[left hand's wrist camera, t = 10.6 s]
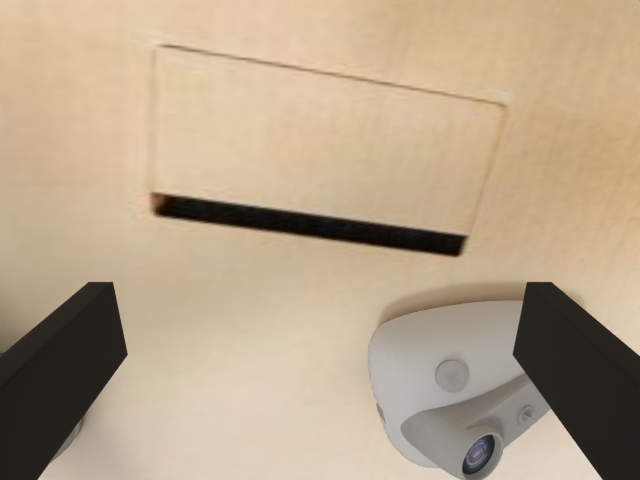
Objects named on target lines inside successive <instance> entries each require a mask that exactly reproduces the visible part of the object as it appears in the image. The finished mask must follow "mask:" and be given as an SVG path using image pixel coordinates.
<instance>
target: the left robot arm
mask: <svg viewBox="0 0 640 480" xmlns="http://www.w3.org/2000/svg"><path fill="white" fill-rule="evenodd" d="M127 355H128V354H127V349H126V344H125V339H124V334H123V329H122V324H121V320H120V315H119V310H118V305H117V300H116V295H115V290H114V285H113V282H88V283H87V284H86V285H85V286H84V287H82V288H81V289H80V290H79V291H78V292H76V293H75V294H74V295H73V296H72V297H70V298H69V299H68V300H67V301H66V302H64V303H63V304H62V305H61V306H60V307H58V308H57V309H56V310H55V311H54V312H52V313H51V314H50V315H49V316H48V317H46V318H45V319H44V320H43V321H42V322H41V323H39V324H38V325H37V326H36V327H35V328H33V329H32V330H31V331H30V332H29V333H27V334H26V335H25V336H24V337H23V338H21V339H20V340H19V341H18V342H17V343H15V344H14V345H13V346H12V347H11V348H9V349H8V350H7V351H6V352H5V353H3V354H0V480H37V479H38V478H39V477H40V475H41V474H42V473H43V471H44V470H45V468H46V467H47V466H48V464H49V463H50V462H52V461H53V460H54V459H56V458H57V457H58V456H59V455H60V454H61V453H62V452H63V451H65V450H66V449H67V447H68V446H69V445H70V444H71V442H72V441H73V439H74V438H75V436H76V435H77V434H78V432H79V430H80V427H81V424H82V417H83V416H84V414H85V413H86V412H87V410H88V409H89V408H90V406H91V405H92V403H93V402H94V401H95V399H96V398H97V396H98V395H99V394H100V392H101V391H102V390H103V388H104V387H105V385H106V384H107V383H108V381H109V380H110V378H111V377H112V376H113V374H114V373H115V372H116V370H117V369H118V367H119V366H120V365H121V363H122V362H123V360H124V359H125V358H126V356H127ZM512 355H513V356H514V358H515V359H516V360H517V362H518V363H519V365H520V366H521V367H522V369H523V370H524V372H525V373H526V374H527V376H528V377H529V378H530V380H531V381H532V383H533V384H534V385H535V387H536V388H537V390H538V391H539V392H540V394H541V395H542V396H543V398H544V399H545V401H546V402H547V403H548V405H549V406H550V408H551V409H552V410H553V412H554V413H555V414H556V416H557V417H558V419H559V420H560V421H561V423H562V424H563V426H564V427H565V428H566V430H567V431H568V432H569V434H570V435H571V437H572V438H573V439H574V441H575V442H576V444H577V445H578V446H579V448H580V449H581V450H582V452H583V453H584V455H585V456H586V457H587V459H588V460H589V461H590V463H591V464H592V466H593V467H594V468H595V470H596V471H597V473H598V474H599V475H600V477H601V478H602V479H603V480H640V356H639V355H638V354H637V353H635V352H634V351H633V350H632V349H631V348H629V347H628V346H627V345H626V344H625V343H623V342H622V341H621V340H620V339H619V338H617V337H616V336H615V335H614V334H613V333H611V332H610V331H609V330H608V329H607V328H605V327H604V326H603V325H602V324H601V323H599V322H598V321H597V320H596V319H595V318H594V317H592V316H591V315H590V314H589V313H588V312H586V311H585V310H584V309H583V308H582V307H580V306H579V305H578V304H577V303H576V302H574V301H573V300H572V299H571V298H570V297H568V296H567V295H566V294H565V293H564V292H562V291H561V290H560V289H559V288H558V287H556V286H555V285H554V284H553V283H552V282H527V285H526V290H525V295H524V300H523V305H522V310H521V315H520V320H519V324H518V329H517V334H516V339H515V344H514V349H513V354H512Z"/></svg>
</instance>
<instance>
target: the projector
mask: <svg viewBox="0 0 640 480" xmlns="http://www.w3.org/2000/svg"><path fill="white" fill-rule="evenodd" d="M522 305H523V300H502V301H482V302H472V303H463V304H456V305H449V306H443V307H437V308H432V309H427V310H422V311H417V312H413V313H409V314H406V315H402V316H399V317H396V318H394V319H391V320H389V321H387V322H385V323H383V324H382V325H381V326H379V327H378V328H377V329H376V331H375V332H374V333H373V335H372V337H371V340H370V342H369V348H368V368H369V376H370V381H371V386H372V390H373V394H374V397H375V400H376V402H377V409H378V413H379V416H380V419H381V422H382V425H383V428H384V430H385V432H386V434H387V436H388V438H389V440H390V442H391V443H392V444H393V446H394V447H395V448H396V449H397V450H398V451H399V452H400V453H401V454H402V455H403V456H404V457H405V458H406V459H408V460H409V461H411V462H412V463H415V464H417V465H419V466H423V467H428V468H442V469H443V470H445V471H446V472H448V473H450V474H451V475H453V476H454V477H456V478H459V479H461V480H483V479H485V478H486V477H488V476H489V475H490V474H491V473H492V472H493V470H494V469H495V468H496V466H497V465H498V463H499V461H500V459H501V456H502V453H503V449H504V448H505V447H506V446H508V445H509V444H510V443H511V442H513V441H514V440H515V439H516V438H518V437H519V436H520V435H521V434H522V433H524V432H525V431H526V430H527V429H528V428H530V427H531V426H532V425H533V424H534V423H535V422H537V421H538V420H539V419H540V418H541V417H542V416H543V415H544V414H546V413H547V412H548V411H549V410H550V409H551V408H550V406H549V405H548V403H547V402H546V401H545V399H544V398H543V396H542V395H541V394H540V392H539V391H538V390H537V388H536V387H535V385H534V384H533V383H532V381H531V380H530V378H529V377H528V376H527V374H526V373H525V372H524V370H523V369H522V367H521V366H520V365H519V363H518V362H517V360H516V359H515V358H514V356H513V355H512V354H513V349H514V344H515V339H516V334H517V329H518V324H519V320H520V315H521V310H522Z"/></svg>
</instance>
